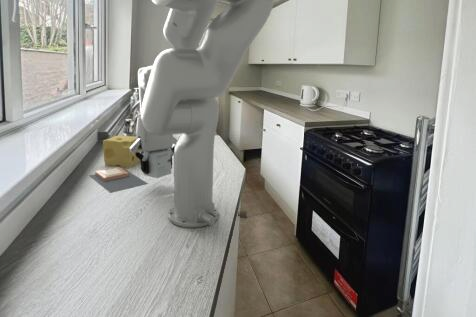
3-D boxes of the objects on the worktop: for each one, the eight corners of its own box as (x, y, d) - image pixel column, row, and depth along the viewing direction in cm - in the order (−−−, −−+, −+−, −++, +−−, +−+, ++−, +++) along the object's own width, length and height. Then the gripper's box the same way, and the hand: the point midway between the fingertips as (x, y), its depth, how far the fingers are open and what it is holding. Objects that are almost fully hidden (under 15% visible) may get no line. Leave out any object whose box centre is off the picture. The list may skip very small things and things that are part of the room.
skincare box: (157, 178, 89) (155, 154, 87) (143, 175, 92) (141, 151, 90) (172, 173, 94) (170, 150, 92) (157, 170, 97) (156, 148, 95)
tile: (128, 172, 102) (118, 166, 107) (104, 177, 96) (94, 170, 102) (128, 176, 102) (118, 169, 108) (104, 181, 97) (95, 174, 102)
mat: (148, 184, 97) (148, 183, 97) (110, 194, 89) (110, 192, 89) (124, 169, 109) (124, 168, 109) (88, 176, 101) (88, 175, 101)
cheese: (129, 169, 110) (127, 142, 107) (102, 166, 112) (100, 139, 109) (143, 161, 120) (142, 136, 117) (119, 158, 122) (117, 134, 119)
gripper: (172, 109, 97) (175, 163, 101) (119, 112, 85) (124, 173, 89) (186, 111, 91) (188, 167, 96) (130, 114, 80) (135, 179, 84)
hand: (157, 170), depth 93 cm, fingers closed on skincare box, 7 cm apart
